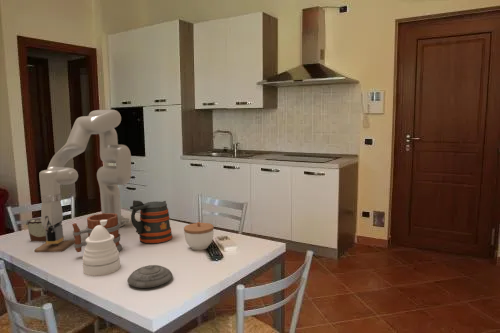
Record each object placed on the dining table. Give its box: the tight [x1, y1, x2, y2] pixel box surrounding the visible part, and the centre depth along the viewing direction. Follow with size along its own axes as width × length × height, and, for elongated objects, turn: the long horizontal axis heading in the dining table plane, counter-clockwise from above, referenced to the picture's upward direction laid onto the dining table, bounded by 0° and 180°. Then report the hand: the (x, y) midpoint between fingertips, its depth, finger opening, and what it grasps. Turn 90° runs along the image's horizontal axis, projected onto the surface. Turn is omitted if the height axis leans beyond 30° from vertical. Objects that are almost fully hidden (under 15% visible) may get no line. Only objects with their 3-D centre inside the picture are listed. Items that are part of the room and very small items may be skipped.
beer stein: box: [129, 200, 173, 244], centre depth 174 cm, size 19×15×20 cm
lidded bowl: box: [183, 221, 214, 251], centre depth 164 cm, size 13×13×11 cm
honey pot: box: [82, 220, 121, 277], centre depth 142 cm, size 13×13×18 cm
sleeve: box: [45, 224, 64, 244], centre depth 168 cm, size 5×5×7 cm
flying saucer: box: [127, 264, 173, 289], centre depth 131 cm, size 15×15×6 cm
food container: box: [25, 217, 51, 243], centre depth 179 cm, size 12×6×10 cm, turn 84°
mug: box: [72, 212, 123, 253], centre depth 160 cm, size 14×19×15 cm
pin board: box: [34, 239, 75, 253], centre depth 168 cm, size 12×12×7 cm
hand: (55, 238), depth 168 cm, fingers closed on sleeve, 5 cm apart
